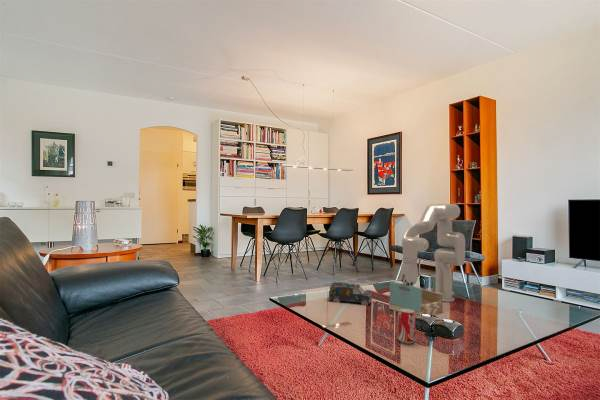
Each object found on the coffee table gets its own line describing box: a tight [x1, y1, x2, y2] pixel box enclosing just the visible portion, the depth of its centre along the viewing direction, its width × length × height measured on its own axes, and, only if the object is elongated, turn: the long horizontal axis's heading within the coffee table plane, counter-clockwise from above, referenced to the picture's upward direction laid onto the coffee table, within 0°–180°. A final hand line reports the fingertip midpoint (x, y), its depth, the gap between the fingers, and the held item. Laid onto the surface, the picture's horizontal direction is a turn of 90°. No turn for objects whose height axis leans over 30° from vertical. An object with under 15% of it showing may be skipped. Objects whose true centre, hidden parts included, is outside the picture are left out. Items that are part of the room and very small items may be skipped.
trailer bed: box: [388, 288, 443, 316], centre depth 182 cm, size 20×20×10 cm
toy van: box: [327, 281, 372, 306], centre depth 197 cm, size 11×25×10 cm, turn 75°
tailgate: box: [389, 280, 423, 312], centre depth 176 cm, size 2×19×12 cm, turn 37°
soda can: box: [396, 308, 417, 345], centre depth 139 cm, size 7×7×13 cm
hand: (409, 295), depth 178 cm, fingers closed
